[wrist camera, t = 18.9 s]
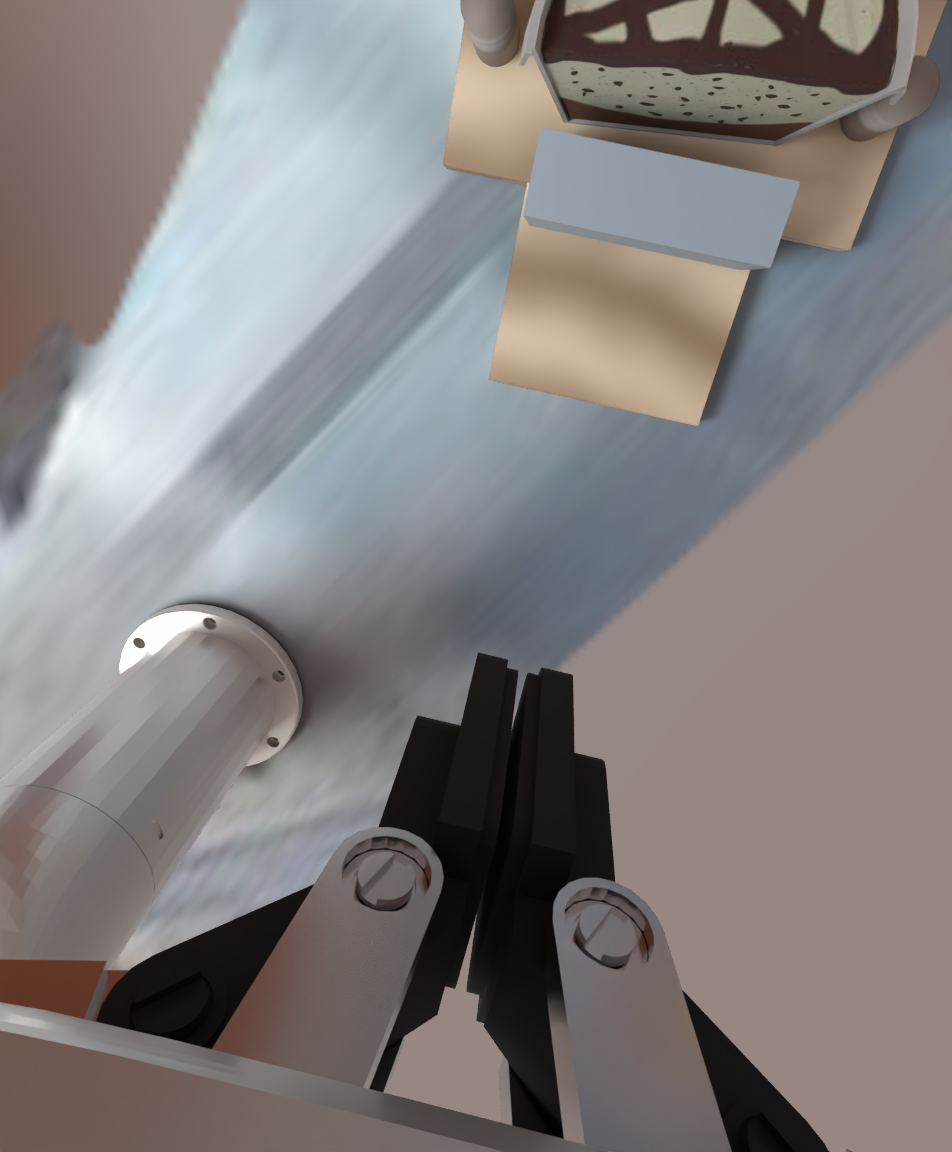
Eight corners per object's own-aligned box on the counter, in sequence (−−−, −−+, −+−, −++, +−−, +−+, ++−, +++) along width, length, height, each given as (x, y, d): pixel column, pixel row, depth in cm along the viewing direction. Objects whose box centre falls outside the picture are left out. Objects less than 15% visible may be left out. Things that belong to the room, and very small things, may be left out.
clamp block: (740, 270, 31) (770, 268, 26) (529, 225, 31) (523, 215, 27) (764, 197, 30) (800, 181, 25) (544, 151, 30) (540, 127, 25)
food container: (861, -32, 26) (1017, -198, 17) (811, 150, 29) (924, 88, 20) (552, -60, 27) (546, -234, 18) (530, 119, 30) (515, 45, 21)
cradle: (768, 438, 35) (800, 462, 30) (418, 360, 36) (395, 372, 31) (967, -80, 26) (1055, -160, 22) (498, -171, 27) (484, -268, 22)
